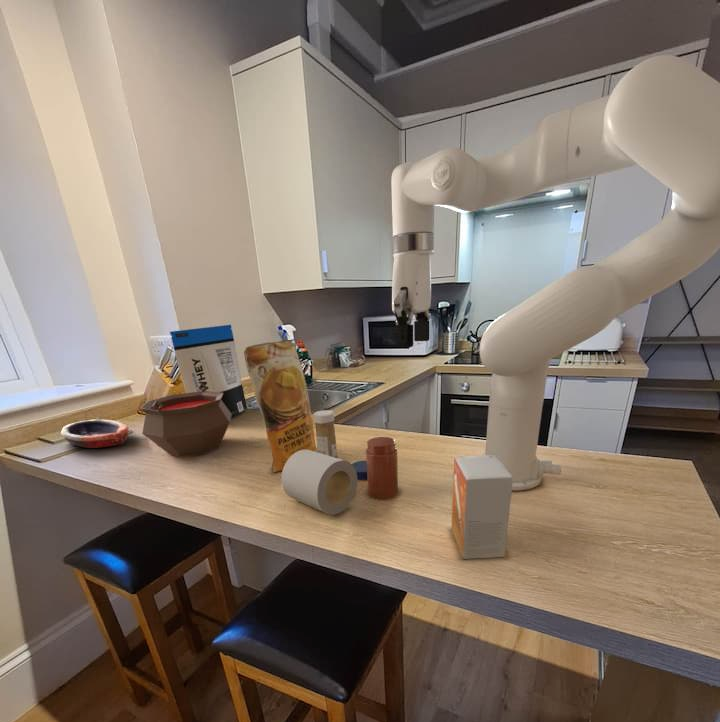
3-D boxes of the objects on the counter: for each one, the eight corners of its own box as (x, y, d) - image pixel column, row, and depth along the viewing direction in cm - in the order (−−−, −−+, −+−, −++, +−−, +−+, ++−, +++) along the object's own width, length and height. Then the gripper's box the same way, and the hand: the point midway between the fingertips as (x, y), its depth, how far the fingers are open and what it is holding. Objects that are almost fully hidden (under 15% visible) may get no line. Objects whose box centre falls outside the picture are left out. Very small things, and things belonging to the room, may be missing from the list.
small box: (450, 530, 64) (453, 456, 59) (489, 528, 64) (495, 454, 58) (461, 560, 57) (466, 479, 51) (505, 558, 57) (514, 476, 51)
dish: (105, 427, 138) (100, 413, 136) (145, 441, 120) (140, 425, 118) (54, 440, 127) (48, 426, 125) (90, 458, 109) (83, 441, 107)
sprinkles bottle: (342, 469, 90) (337, 412, 85) (325, 474, 88) (318, 416, 82) (332, 463, 94) (327, 408, 88) (316, 468, 92) (309, 412, 86)
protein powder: (255, 409, 147) (240, 324, 135) (203, 428, 129) (179, 331, 116) (238, 407, 152) (221, 325, 139) (184, 425, 134) (160, 332, 121)
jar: (400, 486, 80) (399, 436, 76) (395, 500, 75) (393, 447, 70) (372, 485, 82) (369, 435, 77) (365, 498, 76) (361, 446, 72)
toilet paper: (285, 507, 75) (277, 459, 71) (323, 488, 82) (318, 443, 77) (320, 523, 69) (314, 471, 65) (359, 501, 75) (355, 453, 71)
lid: (343, 476, 87) (343, 468, 86) (362, 466, 91) (361, 458, 90) (366, 483, 83) (366, 474, 82) (385, 472, 87) (384, 463, 86)
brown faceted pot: (214, 463, 99) (198, 399, 92) (129, 463, 103) (108, 402, 96) (252, 433, 120) (242, 379, 113) (181, 434, 124) (167, 382, 117)
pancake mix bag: (255, 472, 92) (231, 347, 80) (306, 446, 106) (292, 337, 94) (277, 477, 88) (255, 347, 77) (326, 449, 103) (314, 336, 91)
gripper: (410, 252, 81) (411, 339, 89) (375, 246, 68) (379, 349, 75) (446, 248, 78) (443, 338, 85) (416, 240, 64) (417, 349, 71)
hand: (413, 343), depth 80 cm, fingers open, 9 cm apart
